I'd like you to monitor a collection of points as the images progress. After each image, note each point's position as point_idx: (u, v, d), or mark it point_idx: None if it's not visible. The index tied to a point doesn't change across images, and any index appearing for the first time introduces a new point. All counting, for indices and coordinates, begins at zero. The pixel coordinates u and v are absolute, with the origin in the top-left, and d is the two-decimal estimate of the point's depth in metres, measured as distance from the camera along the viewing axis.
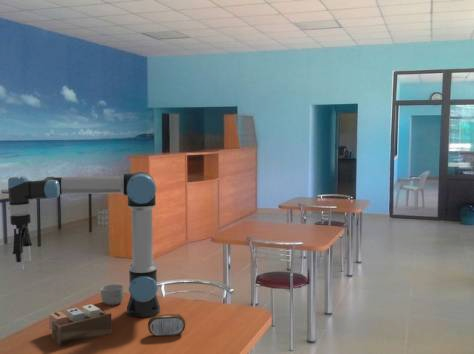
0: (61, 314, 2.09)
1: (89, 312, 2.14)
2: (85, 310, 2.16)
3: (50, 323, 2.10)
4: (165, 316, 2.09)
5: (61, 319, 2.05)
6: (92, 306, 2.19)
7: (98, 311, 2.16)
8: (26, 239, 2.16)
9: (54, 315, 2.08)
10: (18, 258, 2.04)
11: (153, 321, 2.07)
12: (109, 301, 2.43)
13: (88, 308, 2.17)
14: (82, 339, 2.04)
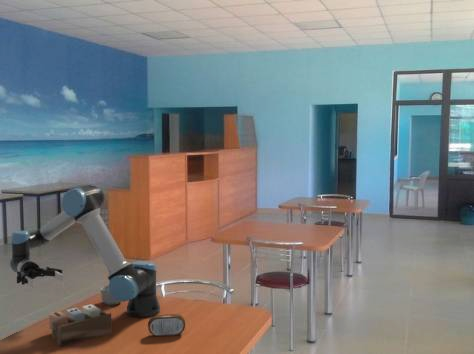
0: (61, 314, 2.09)
1: (89, 312, 2.14)
2: (85, 310, 2.16)
3: (50, 323, 2.10)
4: (165, 316, 2.09)
5: (61, 319, 2.05)
6: (92, 306, 2.19)
7: (98, 311, 2.16)
8: (48, 271, 2.26)
9: (54, 315, 2.08)
10: (23, 280, 2.14)
11: (153, 321, 2.08)
12: (109, 301, 2.43)
13: (88, 308, 2.17)
14: (82, 339, 2.04)
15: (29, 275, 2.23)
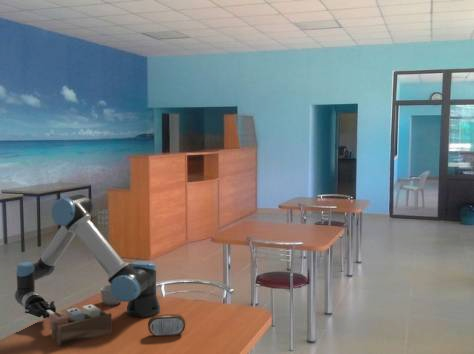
0: (62, 314, 2.09)
1: (89, 312, 2.14)
2: (85, 310, 2.16)
3: (50, 323, 2.09)
4: (165, 316, 2.09)
5: (62, 319, 2.05)
6: (92, 306, 2.19)
7: (98, 311, 2.16)
8: (45, 308, 2.20)
9: (55, 315, 2.08)
10: (45, 314, 2.14)
11: (153, 321, 2.07)
12: (109, 301, 2.43)
13: (88, 308, 2.17)
14: (82, 339, 2.04)
15: None
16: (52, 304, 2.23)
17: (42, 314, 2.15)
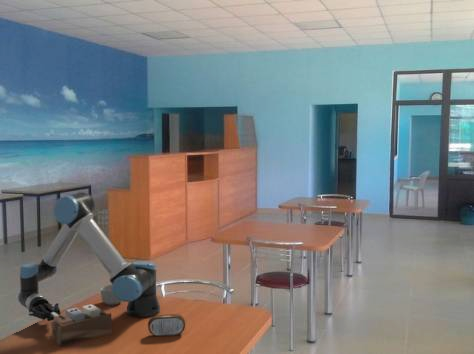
0: (66, 317, 2.06)
1: (89, 312, 2.14)
2: (85, 310, 2.16)
3: None
4: (165, 316, 2.09)
5: (66, 322, 2.02)
6: (92, 306, 2.19)
7: (98, 311, 2.16)
8: (49, 310, 2.17)
9: (59, 318, 2.05)
10: (49, 317, 2.11)
11: (153, 321, 2.08)
12: (109, 301, 2.43)
13: (88, 308, 2.17)
14: (82, 339, 2.04)
15: None
16: (56, 306, 2.20)
17: (46, 316, 2.12)
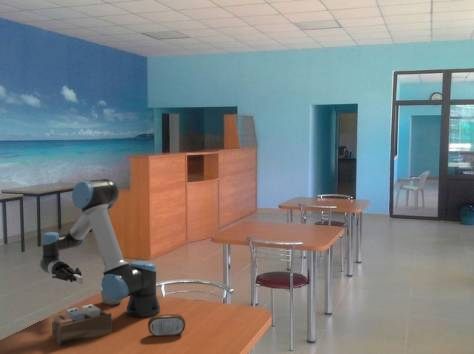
0: (66, 317, 2.06)
1: (89, 312, 2.14)
2: (85, 310, 2.16)
3: None
4: (165, 316, 2.09)
5: (66, 322, 2.02)
6: (92, 306, 2.19)
7: (98, 311, 2.16)
8: (71, 273, 2.32)
9: (59, 318, 2.04)
10: (72, 278, 2.26)
11: (153, 321, 2.08)
12: (109, 301, 2.43)
13: (88, 308, 2.17)
14: (82, 339, 2.04)
15: None
16: (77, 270, 2.36)
17: (69, 278, 2.27)
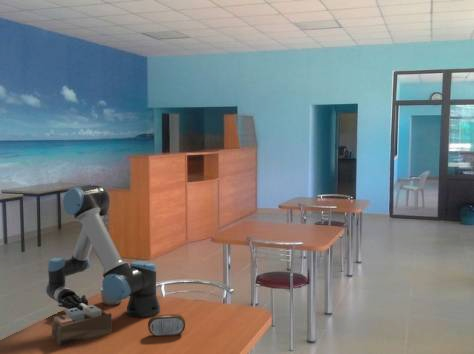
0: (66, 317, 2.06)
1: (90, 313, 2.13)
2: (87, 311, 2.15)
3: None
4: (165, 316, 2.09)
5: (66, 322, 2.02)
6: (93, 307, 2.18)
7: (100, 312, 2.15)
8: (78, 301, 2.29)
9: (59, 318, 2.04)
10: (78, 308, 2.22)
11: (153, 321, 2.08)
12: (109, 301, 2.43)
13: (89, 309, 2.16)
14: (82, 339, 2.04)
15: None
16: (84, 298, 2.32)
17: (75, 307, 2.23)
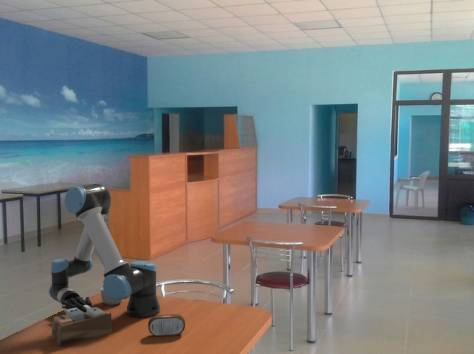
0: (66, 317, 2.06)
1: (94, 315, 2.10)
2: (90, 313, 2.13)
3: None
4: (165, 316, 2.09)
5: (66, 322, 2.02)
6: (97, 309, 2.15)
7: (103, 314, 2.12)
8: (81, 303, 2.26)
9: (59, 318, 2.04)
10: (82, 309, 2.20)
11: (153, 321, 2.07)
12: (109, 301, 2.43)
13: (93, 311, 2.13)
14: (82, 339, 2.04)
15: None
16: (87, 299, 2.29)
17: (79, 309, 2.21)
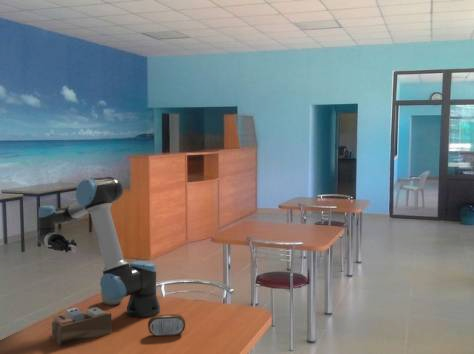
0: (66, 317, 2.06)
1: (94, 315, 2.10)
2: (90, 313, 2.13)
3: None
4: (165, 316, 2.09)
5: (66, 322, 2.02)
6: (97, 309, 2.15)
7: (103, 314, 2.12)
8: (67, 244, 2.37)
9: (59, 318, 2.04)
10: (67, 248, 2.30)
11: (153, 321, 2.07)
12: (109, 301, 2.43)
13: (93, 311, 2.13)
14: (82, 339, 2.04)
15: None
16: (73, 241, 2.40)
17: (64, 248, 2.31)
